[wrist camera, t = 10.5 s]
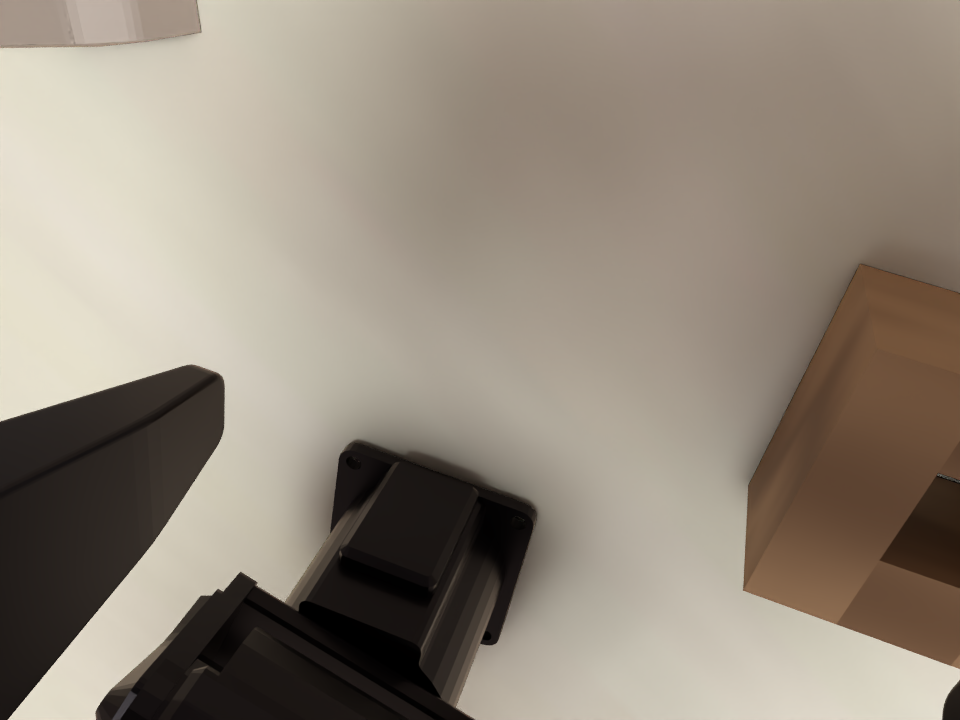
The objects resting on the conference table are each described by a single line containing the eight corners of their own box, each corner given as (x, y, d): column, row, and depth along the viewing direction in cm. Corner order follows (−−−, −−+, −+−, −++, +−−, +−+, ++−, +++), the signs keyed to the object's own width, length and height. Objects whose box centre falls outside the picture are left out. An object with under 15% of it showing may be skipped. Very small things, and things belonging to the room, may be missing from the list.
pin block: (1010, 575, 22) (1051, 701, 18) (748, 485, 23) (743, 590, 19) (1185, 360, 18) (1277, 472, 15) (860, 264, 19) (877, 348, 16)
